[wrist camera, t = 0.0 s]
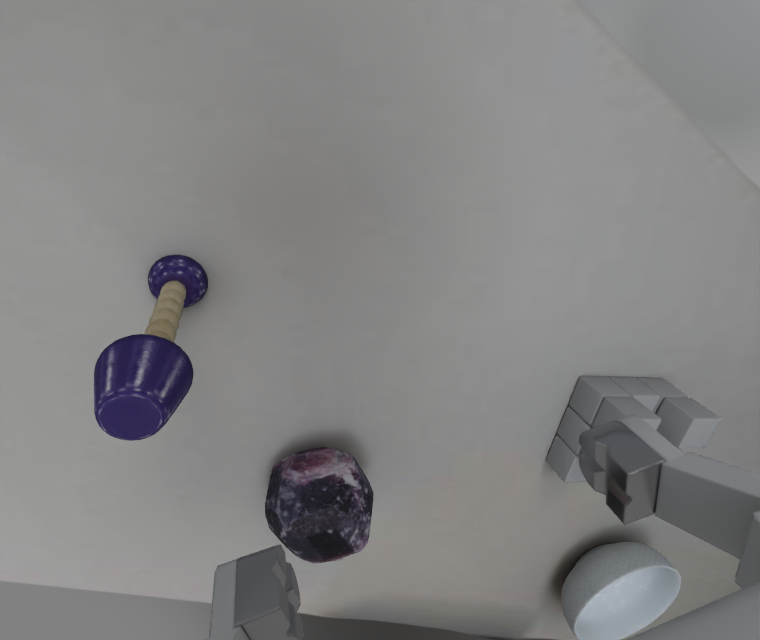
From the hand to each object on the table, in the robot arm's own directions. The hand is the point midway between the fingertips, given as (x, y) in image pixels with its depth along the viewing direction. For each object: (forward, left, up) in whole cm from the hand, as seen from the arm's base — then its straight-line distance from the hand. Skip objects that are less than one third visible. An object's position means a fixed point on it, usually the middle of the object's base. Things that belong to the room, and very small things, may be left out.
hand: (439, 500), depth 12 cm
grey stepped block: (+41, +9, -28) cm, 50 cm away
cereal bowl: (+66, -5, -28) cm, 72 cm away
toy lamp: (-4, -10, -28) cm, 30 cm away
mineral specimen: (+18, -17, -28) cm, 37 cm away
